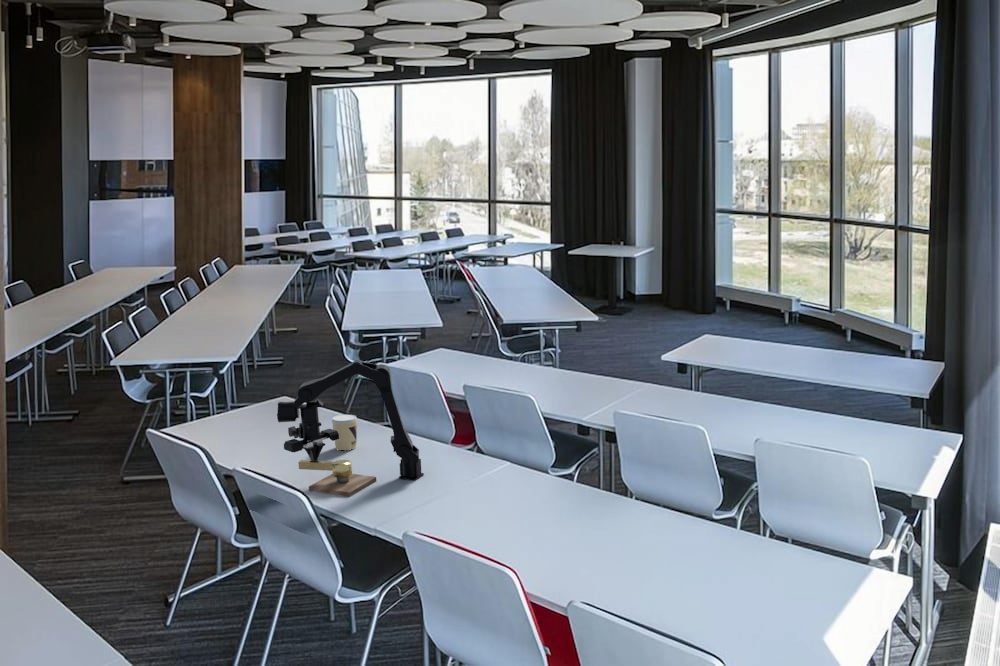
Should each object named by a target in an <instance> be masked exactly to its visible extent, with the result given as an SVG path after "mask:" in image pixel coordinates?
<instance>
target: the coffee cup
mask: <svg viewBox="0 0 1000 666" xmlns="http://www.w3.org/2000/svg"><path fill="white" fill-rule="evenodd" d="M357 422H358V418H357V416H356V415H354V414H340V415H335V416H333V417H332V420H331V423H332V429H333V430H336V431H338V433H339V439H337V440H334V445H335V450H336V449H338V450H350V449H354V448H356V449H357V444H358V443H357V441H358V440H357V437H358V436H357V433H358V431H357V429H358V428H357V427H358V426H357V425H358V423H357ZM338 450H337V451H338ZM354 450H355V449H354Z"/></svg>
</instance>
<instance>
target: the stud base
mask: <svg viewBox="0 0 1000 666" xmlns="http://www.w3.org/2000/svg"><path fill="white" fill-rule="evenodd" d="M375 482H377V477H376V476H374V475H365V474H357V473H352V475H351V476H348V477H343V478H337V477H334V476H333V473H332V474H329V475H327V476H326V477H324V478H322V479H321V480H318V481H316V482H315V483H313V484H310V485H308V491H309V492H313V491H315V493H321V494H329V495H335V496H343V497H347V498H348V497H349V498H350V497H352V496H354V495H355V494H357V493H358V492H360V491H362V490H364V489H366V488H367V487H369V486H370V485H373V484H374V483H375Z"/></svg>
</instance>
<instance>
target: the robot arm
mask: <svg viewBox="0 0 1000 666" xmlns="http://www.w3.org/2000/svg"><path fill="white" fill-rule="evenodd" d="M391 373H392V372H391V369H390V367H389V366H388V365H386V364H383V363H381V364H375V363H371V362H364V361H363V360H362V361H361V360H359V359H356V360H353V361H352V362H351V363H349V364H347V365H345V366H343V367H341V368H339V369H337V370H334V371H333V372H331V373H329V374H327V375H325V376H323V377H320V378H316V379H311V380H308V381H305V382H304V383H302V384H301V385H300V386H299V389H298V391H297V397H295V398H294V401H278V403H277V413H276V416H277V422H278V423H289V422H290V423H291V422H296V421H297V419H300V423H299V424H298V427H297V428H296V426H295V425H294V426H290V427H288V429H287V431H288V432H287V433H288V436H289V437H290V438H291V439H290V440H285V441H284V443H283V449H284V450H285V451H288V452H291V453H297V452H300V451H303V450H304V451H305V452H306V454H307V455H308V457H309V459H310V461H319V459H318V458H319V457H320V454H321V452H322V449H324V448H323V447H324V446H326V443H324V441H323V440H326V439H329V440H330V441H332V442H333V441H334V442H335V440H337V439H339V433H338V431H336V430H333V428H327V429H323V430H321V429H320V427H321V426H322V422H320V419H319V418H320V417H319V410H318V409H319V408H323V405H324V402H322V401H321V400H320V399H319V398H318V397H319V396H320V395H321V394H323V393H324V392H325V391H327V390H328V389H330V388H332V387H334V386H336V385H338V384H340V383H341V382H344V381H345V380H348V379H350V378H351V377H354V376H356V375H359V376H361V377H363V378H365V379H368V380H371V381H373V382H374V384H375V386H376V388H377V390H378V391H379V393H380V395H381V396H382V400H383V404H384V406H385V409H386V413H387V417H388V419H389V422H390V425H391V430H392V431H393V435H391V436H390V444H391V445H392V449H393V453H395V454H396V456H397V457H399V458H401V459H400V463H399V476H398V478H399V479H403V480H408V481H409V480H411V481H416V480H418V479H420V478H421V477H423V476H424V475H425V473H423V472H422V459H421V458H420V449H419V448H418V447H417V446H416V445H414V443H413V440H412V438H411V437H410V435H409V433H408V431H407V430H406V428H405V427H404V424H403V420H402V417H401V414H400V410H399V406H398V404H397V401H396V397H395V394H394V391H393V383H392V381H393V380H392V374H391ZM316 398H317V399H316ZM315 399H316V400H315ZM314 400H315V401H314ZM293 437H294V438H293ZM297 438H298V439H297ZM299 439H300V440H299Z"/></svg>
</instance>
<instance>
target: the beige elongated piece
mask: <svg viewBox="0 0 1000 666" xmlns="http://www.w3.org/2000/svg"><path fill="white" fill-rule="evenodd" d="M298 470H306V471H307V470H310V471H327V472H328V471H330V472H331V471H332V474H333V476H334V477H337V478H343V477H348V476H351V475H352V474H353V467H352V461H351V460H350V459H340V460H339V459H338V460H334V461H331V460H330V461H327V460H326V461H325V460H317V461H311V459H310V460H309V459H307V460H305V459H300V460H299V461H298Z"/></svg>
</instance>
